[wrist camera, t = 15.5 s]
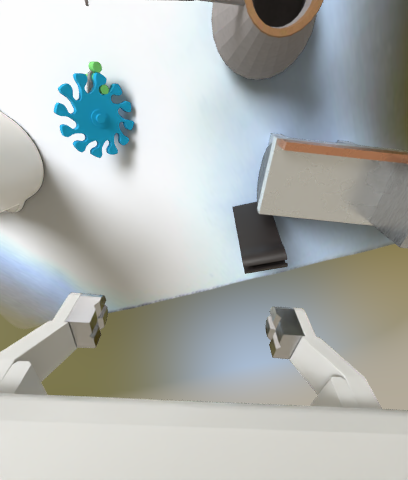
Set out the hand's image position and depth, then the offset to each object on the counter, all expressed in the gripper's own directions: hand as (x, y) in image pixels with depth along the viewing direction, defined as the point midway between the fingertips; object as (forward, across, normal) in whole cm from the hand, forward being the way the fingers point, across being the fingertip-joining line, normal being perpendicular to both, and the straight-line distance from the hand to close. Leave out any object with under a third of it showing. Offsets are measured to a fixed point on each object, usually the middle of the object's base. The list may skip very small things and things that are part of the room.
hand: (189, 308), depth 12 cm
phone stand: (+30, -11, +11) cm, 34 cm away
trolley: (+30, -16, 0) cm, 34 cm away
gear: (+31, +13, -4) cm, 34 cm away
